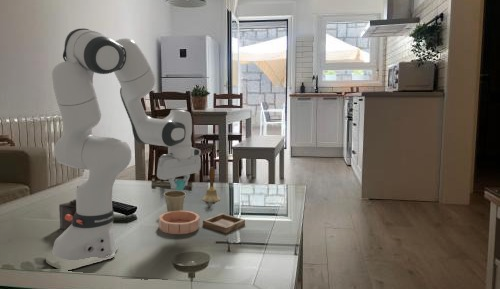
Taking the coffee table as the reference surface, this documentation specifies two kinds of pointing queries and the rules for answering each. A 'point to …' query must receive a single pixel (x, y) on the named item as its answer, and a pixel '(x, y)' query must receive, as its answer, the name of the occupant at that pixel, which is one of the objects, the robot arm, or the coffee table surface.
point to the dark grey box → (64, 210)
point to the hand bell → (211, 189)
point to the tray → (223, 222)
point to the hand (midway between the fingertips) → (179, 187)
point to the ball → (179, 185)
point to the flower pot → (174, 200)
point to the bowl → (179, 222)
